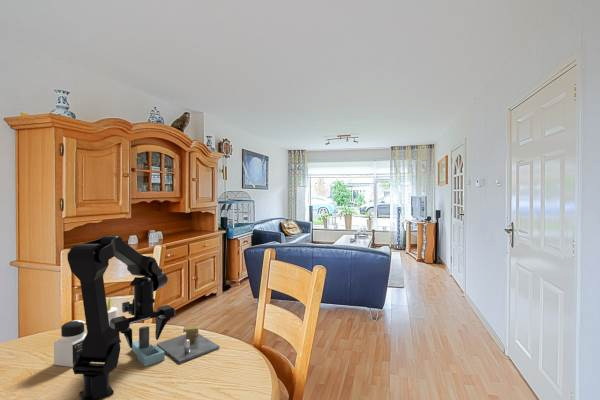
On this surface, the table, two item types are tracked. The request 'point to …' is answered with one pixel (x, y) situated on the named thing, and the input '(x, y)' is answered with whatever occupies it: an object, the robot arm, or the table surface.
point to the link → (147, 349)
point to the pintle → (187, 345)
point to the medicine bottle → (69, 343)
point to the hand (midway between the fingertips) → (144, 343)
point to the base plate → (197, 344)
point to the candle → (111, 311)
